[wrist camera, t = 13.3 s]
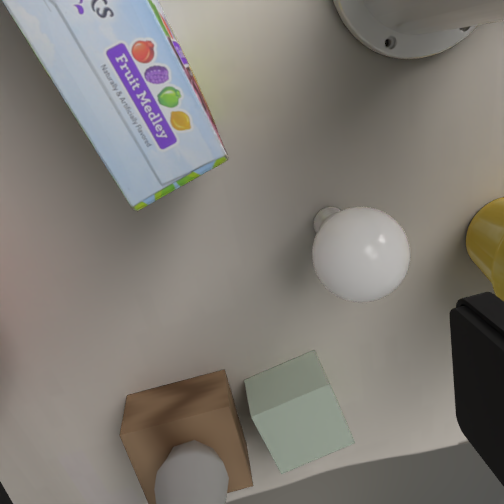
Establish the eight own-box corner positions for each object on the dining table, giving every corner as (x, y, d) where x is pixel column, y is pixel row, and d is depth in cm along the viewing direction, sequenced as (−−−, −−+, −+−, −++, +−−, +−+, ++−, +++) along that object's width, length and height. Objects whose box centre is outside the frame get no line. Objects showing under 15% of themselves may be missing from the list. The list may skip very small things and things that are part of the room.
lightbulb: (275, 209, 37) (308, 261, 27) (343, 166, 37) (403, 202, 27) (312, 270, 40) (355, 337, 30) (377, 230, 39) (444, 285, 29)
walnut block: (224, 369, 42) (229, 406, 37) (246, 444, 45) (253, 485, 41) (127, 395, 42) (119, 435, 37) (156, 468, 45) (152, 513, 40)
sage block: (314, 349, 43) (329, 383, 38) (338, 405, 45) (355, 442, 41) (244, 379, 43) (251, 417, 38) (271, 433, 45) (281, 474, 41)
